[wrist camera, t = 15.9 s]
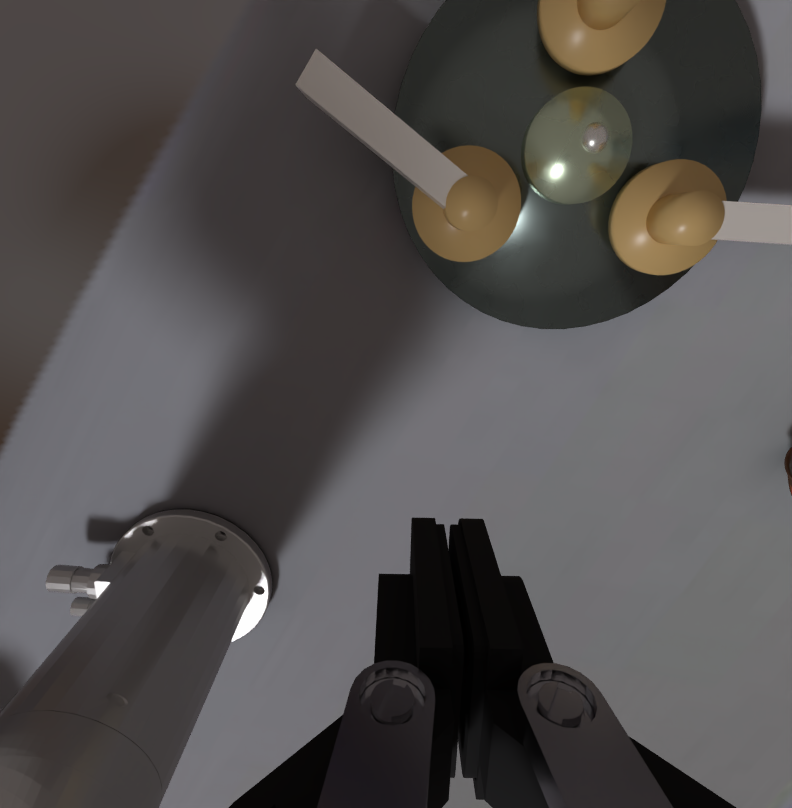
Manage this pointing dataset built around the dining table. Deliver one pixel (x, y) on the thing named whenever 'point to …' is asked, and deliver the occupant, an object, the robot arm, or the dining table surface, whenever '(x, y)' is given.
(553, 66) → the level base
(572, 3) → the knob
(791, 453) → the tin
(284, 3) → the dining table surface
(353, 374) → the dining table surface
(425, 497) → the dining table surface
